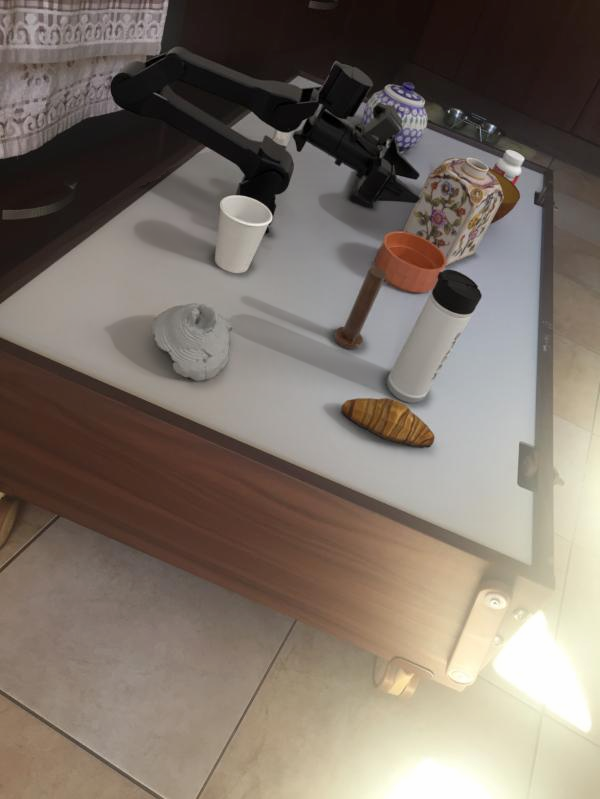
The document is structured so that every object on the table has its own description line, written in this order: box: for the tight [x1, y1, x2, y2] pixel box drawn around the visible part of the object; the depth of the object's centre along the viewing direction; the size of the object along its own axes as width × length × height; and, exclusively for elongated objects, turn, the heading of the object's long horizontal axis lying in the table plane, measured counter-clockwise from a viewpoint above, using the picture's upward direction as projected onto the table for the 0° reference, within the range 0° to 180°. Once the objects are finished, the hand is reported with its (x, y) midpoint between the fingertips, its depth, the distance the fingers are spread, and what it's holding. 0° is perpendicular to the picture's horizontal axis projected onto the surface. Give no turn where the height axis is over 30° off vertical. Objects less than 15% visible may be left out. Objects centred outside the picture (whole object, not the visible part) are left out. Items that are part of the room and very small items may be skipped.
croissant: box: [341, 397, 436, 448], centre depth 99 cm, size 14×7×5 cm, turn 77°
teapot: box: [361, 81, 428, 154], centre depth 173 cm, size 25×15×15 cm, turn 166°
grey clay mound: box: [150, 303, 234, 382], centre depth 97 cm, size 12×12×11 cm
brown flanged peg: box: [333, 266, 386, 351], centre depth 109 cm, size 4×4×13 cm
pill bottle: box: [492, 149, 525, 186], centre depth 170 cm, size 6×6×11 cm
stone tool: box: [271, 129, 292, 147], centre depth 149 cm, size 8×3×15 cm, turn 156°
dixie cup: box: [214, 194, 273, 274], centre depth 116 cm, size 8×8×10 cm
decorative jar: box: [402, 157, 504, 266], centre depth 141 cm, size 12×12×18 cm
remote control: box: [349, 177, 375, 208], centre depth 155 cm, size 5×2×15 cm
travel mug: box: [385, 268, 483, 404], centre depth 103 cm, size 6×7×20 cm
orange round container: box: [373, 230, 447, 294], centre depth 132 cm, size 12×12×6 cm
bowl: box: [442, 157, 521, 225], centre depth 155 cm, size 18×18×10 cm
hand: (418, 188), depth 123 cm, fingers open, 9 cm apart
